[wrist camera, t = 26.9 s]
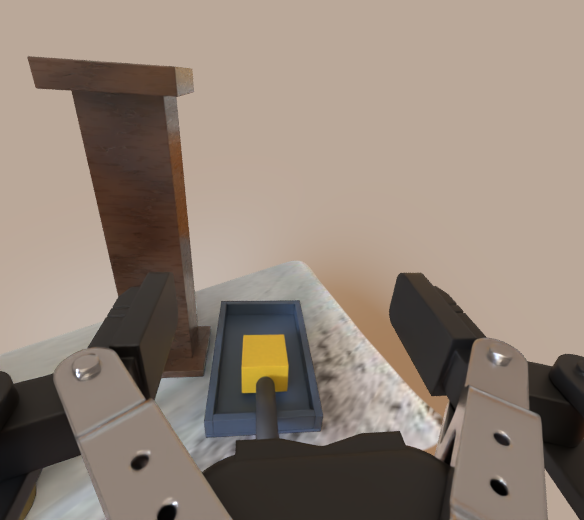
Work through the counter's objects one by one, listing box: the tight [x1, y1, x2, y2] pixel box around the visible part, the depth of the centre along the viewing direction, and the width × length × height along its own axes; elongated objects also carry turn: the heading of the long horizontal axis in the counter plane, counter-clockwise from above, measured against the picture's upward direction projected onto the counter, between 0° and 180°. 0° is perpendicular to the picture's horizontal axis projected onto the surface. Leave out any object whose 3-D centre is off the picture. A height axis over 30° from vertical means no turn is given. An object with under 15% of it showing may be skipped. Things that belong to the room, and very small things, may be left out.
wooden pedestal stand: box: [28, 56, 211, 378], centre depth 35 cm, size 10×8×32 cm
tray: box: [204, 300, 323, 438], centre depth 42 cm, size 12×20×2 cm, turn 6°
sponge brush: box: [242, 335, 289, 439], centre depth 34 cm, size 5×16×4 cm, turn 5°
